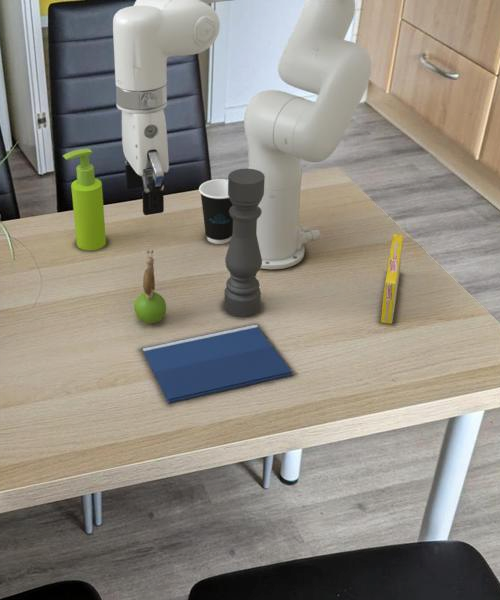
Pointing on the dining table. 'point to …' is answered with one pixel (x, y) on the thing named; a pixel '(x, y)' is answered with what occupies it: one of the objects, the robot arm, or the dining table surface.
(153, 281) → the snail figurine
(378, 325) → the dining table surface
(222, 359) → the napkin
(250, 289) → the candle holder
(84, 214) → the soap dispenser
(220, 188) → the dixie cup
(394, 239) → the candy box
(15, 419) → the dining table surface
